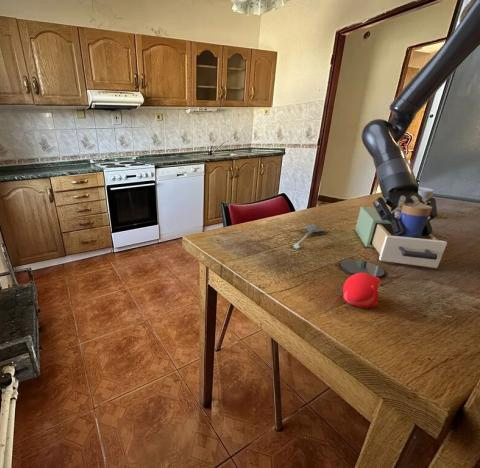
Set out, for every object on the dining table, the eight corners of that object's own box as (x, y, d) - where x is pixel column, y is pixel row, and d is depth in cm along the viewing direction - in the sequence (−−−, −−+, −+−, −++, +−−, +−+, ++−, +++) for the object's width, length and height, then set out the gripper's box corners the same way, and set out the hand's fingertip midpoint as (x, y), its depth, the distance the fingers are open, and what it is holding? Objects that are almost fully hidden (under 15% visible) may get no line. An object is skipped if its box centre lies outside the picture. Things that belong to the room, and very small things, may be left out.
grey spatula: (327, 233, 90) (307, 229, 95) (328, 224, 89) (308, 221, 94) (307, 251, 75) (284, 246, 80) (308, 240, 74) (285, 236, 79)
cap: (370, 317, 49) (379, 290, 46) (335, 303, 53) (341, 277, 51) (381, 299, 53) (390, 274, 51) (348, 288, 58) (355, 264, 55)
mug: (423, 221, 97) (433, 192, 93) (394, 216, 103) (402, 189, 99) (426, 214, 104) (435, 187, 100) (398, 210, 110) (406, 184, 106)
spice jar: (410, 249, 70) (426, 203, 65) (419, 258, 65) (436, 209, 61) (386, 247, 72) (399, 202, 67) (392, 255, 68) (407, 207, 63)
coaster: (378, 264, 67) (378, 262, 67) (389, 281, 60) (389, 279, 59) (338, 258, 71) (338, 257, 71) (343, 274, 63) (344, 272, 63)
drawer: (446, 276, 59) (457, 249, 57) (384, 267, 64) (392, 242, 61) (413, 245, 75) (421, 223, 73) (366, 240, 79) (372, 219, 77)
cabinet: (420, 253, 72) (430, 224, 69) (365, 246, 77) (373, 219, 74) (400, 234, 85) (408, 209, 82) (355, 230, 90) (360, 206, 87)
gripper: (375, 171, 69) (392, 227, 63) (436, 170, 67) (460, 228, 60) (360, 186, 76) (373, 239, 69) (414, 186, 74) (434, 240, 67)
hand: (414, 234), depth 65 cm, fingers closed on spice jar, 5 cm apart
